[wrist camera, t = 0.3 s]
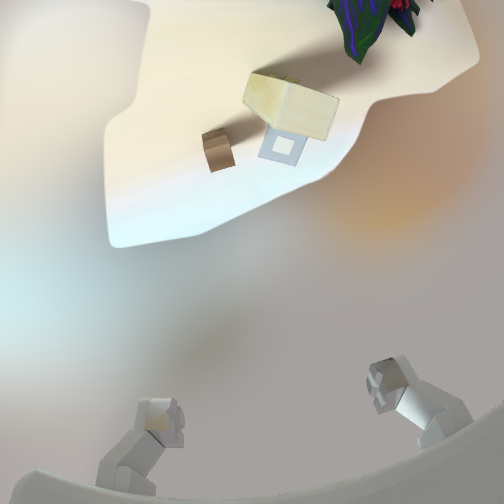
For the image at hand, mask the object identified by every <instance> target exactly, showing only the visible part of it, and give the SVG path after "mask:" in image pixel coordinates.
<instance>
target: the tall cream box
mask: <svg viewBox="0 0 504 504" xmlns="http://www.w3.org/2000/svg"><path fill="white" fill-rule="evenodd" d="M299 82H300V80H298V79H295V78H290V77H286V76H285V78H284V80H281V76H277V75H272V74H270V75H269V76H264V75H260V74H256V73H250V76H249V79H248V83H247V87H246V90H245V94H244V98H243V104H245V105H246V106H247V107H248V108H250V109H251V110H252V111H253V112H255V113H256V114H257V115H258V116H259V117H261V118H262V119H263V120H264V121H265V122H267V123H268V124H269V125H270V126H271V127H272V128H274V129H277V130H281V131H286V132H290V133H294V134H298V135H302V136H306V137H310V138H314V139H317V140H321V141H325V140H326V138H327V136H328V133H329V130H330V127H331V125H332V122H333V119H334V116H335V113H336V110H337V108H338V104H339V99H338V98H336V97H333V96H331V95H328V94H325V93H322V92H320V91H317V90H314V89H311V88H308V87H304V86H301V85H299Z"/></svg>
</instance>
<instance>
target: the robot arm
mask: <svg viewBox="0 0 504 504" xmlns="http://www.w3.org/2000/svg"><path fill="white" fill-rule="evenodd" d="M369 370H370V373H369V374H368V375H367V380H366V381H367V388H368V391H369V394H370V395H371V396H373V397H374V398H375V399H374V405H375V407H376V410H377V412H378V414H382V413H385V412H388V411H390V410H393V409H396V410H397V411H398V412H400V413H401V414H402V415H404V416H405V417H407V418H408V419H409V420H411V421H412V422H413V423H415V424H417V425H418V426H419V427H421V428H422V429H423V430H424V431H423V433H422V434H421V435H420V436H419V438H418V440H417V442H418V445H419V447H420V449H421V451H420V452H418V453H416V454H414V455H412V456H409V457H407V458H405V459H403V460H400V461H398V462H395V463H393V464H391V465H388V466H385V467H383V468H380V469H378V470H375V471H372V472H369V473H366V474H363V475H360V476H357V477H354V478H350V479H347V480H344V481H340V482H336V483H332V484H329V485H324V486H321V487H316V488H312V489H307V490H301V491H297V492H290V493H284V494H278V495H270V496H262V497H253V498H240V499H216V500H214V499H212V500H202V499H176V498H163V497H155V492H156V485H155V484H154V483H153V482H151V481H149V480H148V479H146V476H147V475H148V473H149V472H150V470H151V469H152V468H153V466H154V465H155V463H156V462H157V460H158V459H159V458H160V456H161V455H162V453H163V452H164V450H165V448H183V445H184V434H183V433H182V432H181V430H182V429H183V428H184V426H185V418H184V413H183V410H182V409H181V407H179V406H177V401H176V400H175V398H141V399H140V400H139V402H138V406H137V411H136V416H135V421H134V426H133V430H129V431H128V432H127V434H125V436H124V437H123V438H122V439H121V440H120V441H119V442H118V443H117V444H116V445H115V446H114V447H113V448H112V449H111V450H110V451H109V452H108V453H107V455H106V456H105V457H104V458H103V459H102V460H101V461H100V463H99V469H98V474H97V479H96V485H95V486H92V485H89V484H85V483H81V482H78V481H74V480H71V479H68V478H64V477H61V476H58V475H55V474H53V473H50V472H47V471H45V470H42V469H38V468H37V469H33V470H31V471H30V472H29V473H27V474H26V475H25V476H23V477H22V478H21V479H20V480H19V481H18V482H17V483H16V485H15V487H14V489H13V492H12V495H11V499H10V503H9V504H504V400H503V401H502V402H501V403H499V404H498V405H497V406H495V407H494V408H493V409H491V410H490V411H489V412H487V413H486V414H484V415H483V416H481V417H480V418H478V419H477V420H475V421H474V420H473V418H472V416H471V415H470V413H469V411H468V409H467V408H466V406H465V404H464V403H463V401H462V400H461V399H459V398H457V397H455V396H453V395H451V394H449V393H447V392H445V391H443V390H441V389H439V388H438V387H436V386H433V385H432V384H430V383H428V382H426V381H424V380H421V381H420V380H419V378H418V377H417V375H416V373H415V372H414V370H413V368H412V367H411V365H410V363H409V362H408V360H407V358H406V357H405V355H403V354H400V355H397V356H395V357H391V358H388V359H385V360H383V361H380V362H377V363H373V364H371V365H370V368H369Z"/></svg>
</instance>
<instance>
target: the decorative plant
mask: <svg viewBox="0 0 504 504" xmlns="http://www.w3.org/2000/svg"><path fill="white" fill-rule="evenodd" d="M431 1H432V2H433V0H431ZM327 7H328V8H330V9H332V10H333V11H334V12H335V14H336V16H337V18H338V21H339V24H340V26H341V29H342V31H343V35H344V46H345V51H346V53H347V54H348V56H349V57H351V58H352V59H353V60H355V61H356V62H357V63H358V64H361V62H362V60H363V58H364V56H365V54H366V52H367V50H368V48H369V47H370V46H371V45H372V44H373V43H374V42H376V40H377V38H378V37H379V35H380V33H381V32H382V29H383V26H384V23H385V20H386V16H387V13H388V15H389V16H390V17H391V18H392V19H393V20H394V21H395V22H396V23H397V24H398V25H399V26H400V27H401V28H402V29H403V30H404V31H405V32H406V33H407V34H408V35H410V36H411V37H412V36H413V34H414V33H415V26H414V22H413V19H412V13H411V11H413V12H414V13H415V14H416V15H417V17H418V14H419V11H420V8H419V7H418V5H417V4H416V3H415V2H414V0H330V1H329V3H328V5H327Z"/></svg>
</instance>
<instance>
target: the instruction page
mask: <svg viewBox="0 0 504 504" xmlns="http://www.w3.org/2000/svg"><path fill="white" fill-rule="evenodd" d="M306 140H307V137H306V136H302V135H298V134H294V133H290V132H286V131H281V130H277V129H274V128H272V127H271V126H270V125H269V127H268V130H267V132H266V135H265V138H264V140H263V143H262V146H261V149H260V151H259V154H258V157H260V158H264V159H268V160H272V161H276V162H280V163H284V164H288V165H292V166H295V165H296V163H297V161H298V158H299V156H300V154H301V151H302V149H303V147H304V144H305V142H306Z"/></svg>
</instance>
